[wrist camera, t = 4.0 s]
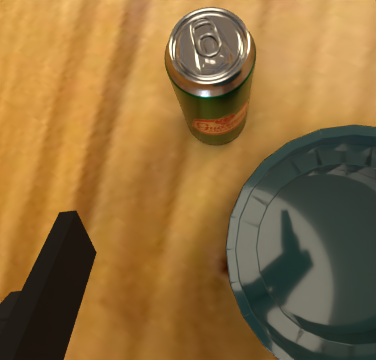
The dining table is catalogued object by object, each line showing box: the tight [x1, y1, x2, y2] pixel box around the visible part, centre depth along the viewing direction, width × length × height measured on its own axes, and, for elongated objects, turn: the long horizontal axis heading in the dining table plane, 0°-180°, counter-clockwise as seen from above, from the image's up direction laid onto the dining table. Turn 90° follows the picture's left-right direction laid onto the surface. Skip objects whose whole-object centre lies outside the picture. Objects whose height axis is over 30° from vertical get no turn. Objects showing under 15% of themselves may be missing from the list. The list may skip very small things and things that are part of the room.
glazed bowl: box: [226, 125, 376, 360], centre depth 24 cm, size 17×17×5 cm
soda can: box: [165, 7, 256, 145], centre depth 23 cm, size 5×5×12 cm
